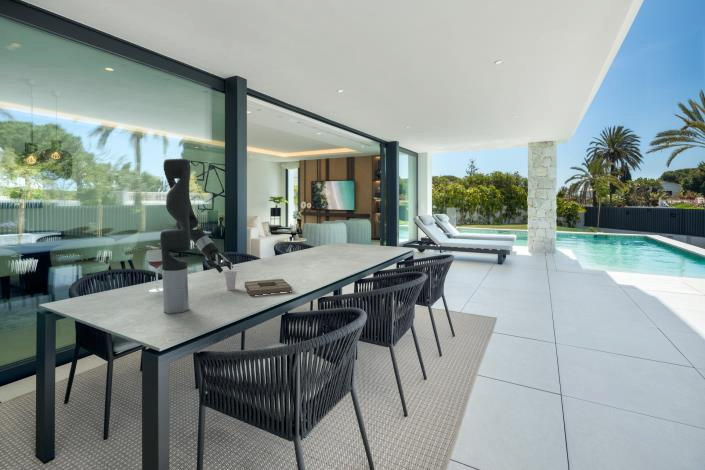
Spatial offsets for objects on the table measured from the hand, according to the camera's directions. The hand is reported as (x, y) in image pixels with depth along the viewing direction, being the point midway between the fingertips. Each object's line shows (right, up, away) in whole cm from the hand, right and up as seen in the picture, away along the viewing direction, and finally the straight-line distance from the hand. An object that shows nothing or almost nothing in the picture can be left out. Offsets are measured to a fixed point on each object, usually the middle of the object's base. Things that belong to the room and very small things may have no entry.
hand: (226, 270), depth 182 cm
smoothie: (+2, -10, 0) cm, 10 cm away
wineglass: (-34, -10, -3) cm, 35 cm away
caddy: (+21, -10, 0) cm, 23 cm away
